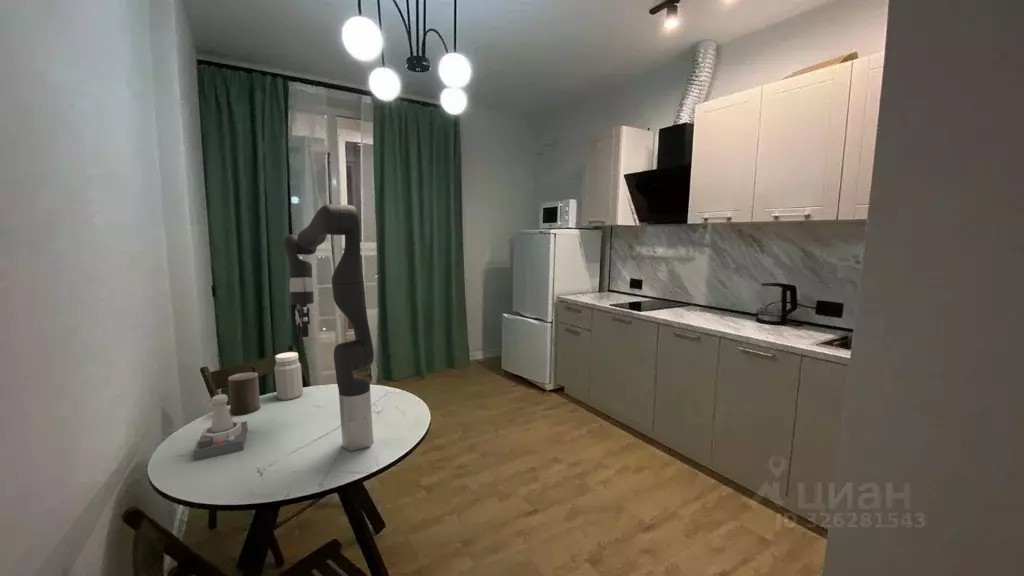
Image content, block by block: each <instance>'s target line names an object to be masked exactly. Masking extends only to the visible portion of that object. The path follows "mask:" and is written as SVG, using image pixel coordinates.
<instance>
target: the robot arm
mask: <svg viewBox="0 0 1024 576" xmlns="http://www.w3.org/2000/svg"><path fill="white" fill-rule="evenodd" d="M327 235H330V236H344V247H343V251H342V252H343V253H342V255H341V257H340V259H339V262H338V264H337V265H336V267H335V269H334V271H333V274H332V276H331V287H332V288H331V289H332V296H333V297H332V299H333V300H334V303H335V305H336V306H337V308H339V310H340V312H341V313H342V314H343V315H344V316H345V317H346V318H347V319H348V321H349V322H350V324H351V326H352V329H353V332H354V338H355V339H353V340H349V341H345V342H341V343H340V342H339V343H338V344H336V345H335V347H334V350H333V363H334V371H335V379H336V384H337V389H338V400H339V412H340V429H341V440H342V441H341V445H342V448H343V449H345V450H347V451H349V452H353V451H357V450H362V449H366V448H369V447H371V446H372V444H373V442H374V430H373V429H374V428H373V415H372V412H373V411H372V399H371V397H372V396H371V383H370V380H368V379H367V378H364V377H357V376H356V377H355V376H354V372H355V371H358V370H363V369H365V368H369V367H370V366H372V365H373V363H374V357H375V356H374V355H375V352H374V346H373V340H372V336H371V330H370V325H369V320H368V319H369V318H368V313H367V312H368V311H367V303H366V289H365V281H364V274H363V266H362V256H361V255H362V253H361V223H360V216H359V212H358V209H357V208H356V207H355V206H353V205H349V204H334V203H332V204H331V203H330V204H324V205H322V206H321V207H319V209H318V210H317V211H316V213H315V214H314V216H313V217H312V220H311V221H310V222H309V224H308V225H307V226H306V227H304V228H303V229H302V230H301V231H300V232H299V233H298V234H287V235H286V236H285V237H284V239H283V243H282V244H283V249H284V251H285V254H286V257H287V261H288V263H289V265H288V266H289V304H290V305H297V306H296V307H295V324H296V326H297V327H296V331H297V336H300V337H301V338H308V337H309V326H310V323H311V322H310V307H309V306H308V305H311V304H312V305H313V304H314V303H315V302H314V301H315V300H314V299H315V296H314V295H315V294H314V282H313V281H314V280H313V265H312V263H311V262H309V261H306V260H302V259H301V258H300V257H299V256H300V255H301V256H311V255H314V254H315V253H316V252H317V248H318V247H320V245H323V243H324V242H325V241H326V239H327ZM298 255H299V256H298Z"/></svg>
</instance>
